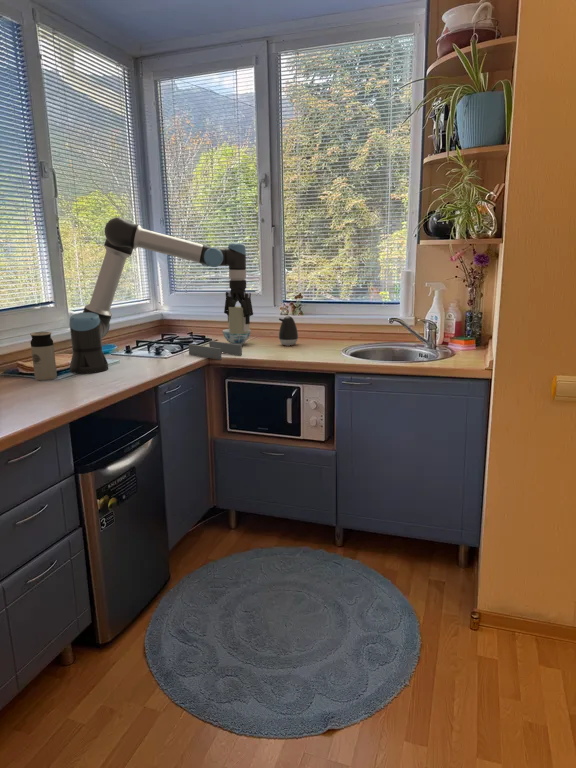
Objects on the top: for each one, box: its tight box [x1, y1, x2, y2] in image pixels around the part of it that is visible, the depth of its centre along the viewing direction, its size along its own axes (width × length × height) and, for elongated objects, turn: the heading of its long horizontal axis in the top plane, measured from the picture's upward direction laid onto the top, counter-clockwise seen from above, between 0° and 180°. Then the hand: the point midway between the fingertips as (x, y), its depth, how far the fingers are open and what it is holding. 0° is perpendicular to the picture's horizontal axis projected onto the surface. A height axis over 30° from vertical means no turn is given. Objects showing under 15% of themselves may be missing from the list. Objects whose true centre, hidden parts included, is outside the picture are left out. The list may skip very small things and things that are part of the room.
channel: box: [188, 340, 243, 361], centre depth 256 cm, size 14×22×5 cm, turn 49°
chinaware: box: [222, 328, 252, 346], centre depth 285 cm, size 15×15×8 cm
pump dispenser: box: [278, 315, 299, 347], centre depth 281 cm, size 10×10×15 cm
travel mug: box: [30, 331, 58, 381], centre depth 209 cm, size 8×8×18 cm
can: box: [228, 305, 251, 334], centre depth 242 cm, size 9×9×12 cm
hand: (238, 330), depth 243 cm, fingers closed on can, 9 cm apart
